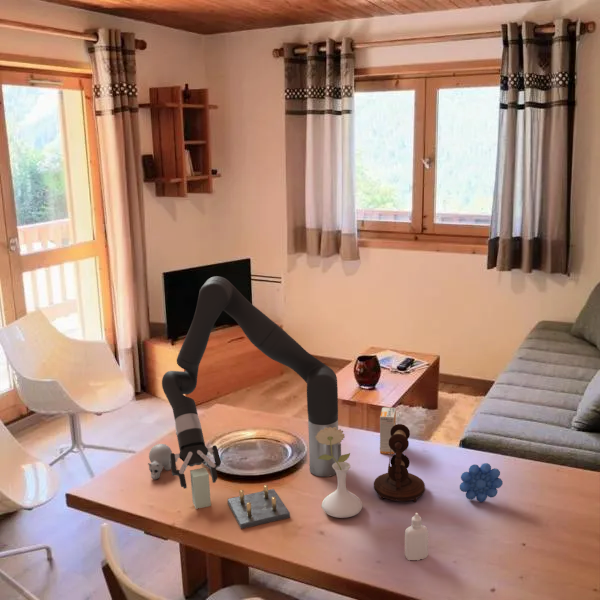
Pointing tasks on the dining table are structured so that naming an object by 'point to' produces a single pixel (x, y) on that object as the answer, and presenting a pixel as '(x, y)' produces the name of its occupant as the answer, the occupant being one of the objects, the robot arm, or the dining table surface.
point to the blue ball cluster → (480, 482)
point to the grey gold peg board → (258, 508)
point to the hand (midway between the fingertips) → (200, 484)
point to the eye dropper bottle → (416, 540)
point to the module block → (200, 488)
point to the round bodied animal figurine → (159, 460)
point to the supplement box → (386, 428)
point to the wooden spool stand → (399, 471)
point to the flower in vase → (341, 499)
